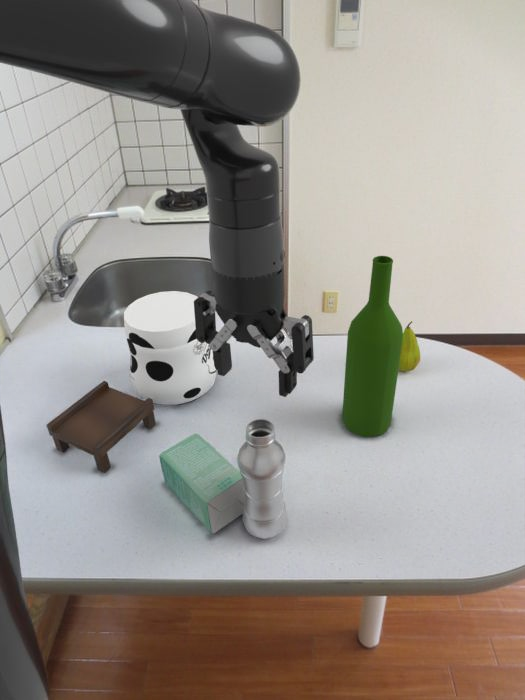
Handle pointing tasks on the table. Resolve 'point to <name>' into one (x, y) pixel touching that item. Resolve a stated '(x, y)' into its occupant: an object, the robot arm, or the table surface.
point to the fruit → (409, 351)
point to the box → (204, 482)
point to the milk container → (167, 349)
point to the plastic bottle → (262, 480)
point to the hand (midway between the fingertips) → (254, 382)
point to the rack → (100, 422)
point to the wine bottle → (372, 358)
